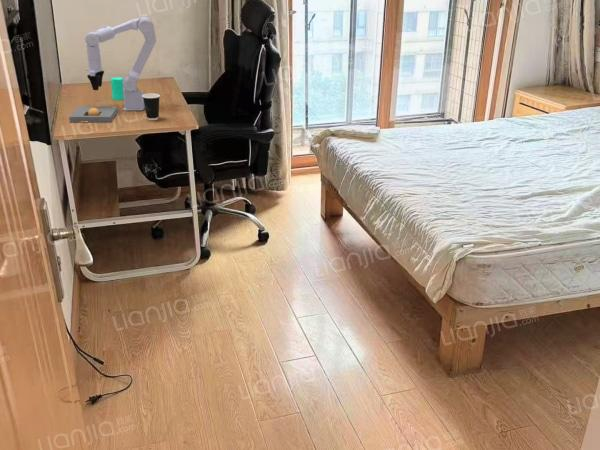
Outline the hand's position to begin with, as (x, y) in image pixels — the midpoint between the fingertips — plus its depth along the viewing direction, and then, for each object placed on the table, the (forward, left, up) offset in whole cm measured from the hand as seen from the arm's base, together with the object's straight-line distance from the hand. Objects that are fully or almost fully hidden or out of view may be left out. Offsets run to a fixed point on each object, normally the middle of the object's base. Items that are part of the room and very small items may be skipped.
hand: (97, 88), depth 289 cm
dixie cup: (-27, +16, -11) cm, 33 cm away
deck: (0, +13, -10) cm, 17 cm away
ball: (-1, +16, -8) cm, 18 cm away
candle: (-5, -22, -11) cm, 25 cm away
